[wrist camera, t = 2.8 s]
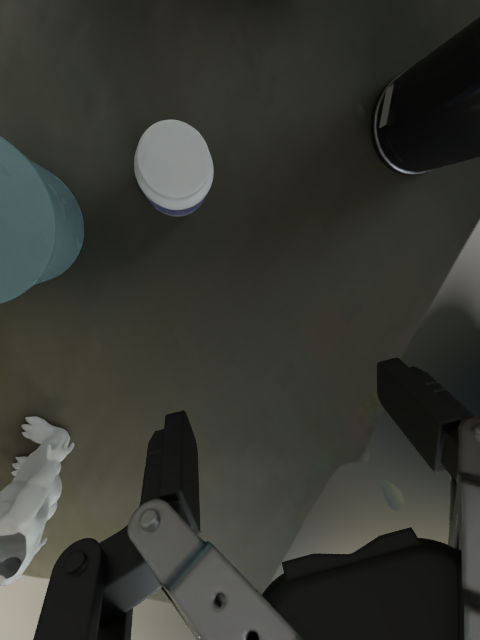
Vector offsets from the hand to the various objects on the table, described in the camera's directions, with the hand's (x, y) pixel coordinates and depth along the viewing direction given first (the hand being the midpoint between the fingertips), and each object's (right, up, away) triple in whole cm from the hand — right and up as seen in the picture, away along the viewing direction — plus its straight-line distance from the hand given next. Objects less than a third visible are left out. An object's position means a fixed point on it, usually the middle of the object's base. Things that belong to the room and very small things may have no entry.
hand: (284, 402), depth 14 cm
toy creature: (-22, -10, +21) cm, 32 cm away
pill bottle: (-8, +16, +17) cm, 25 cm away
